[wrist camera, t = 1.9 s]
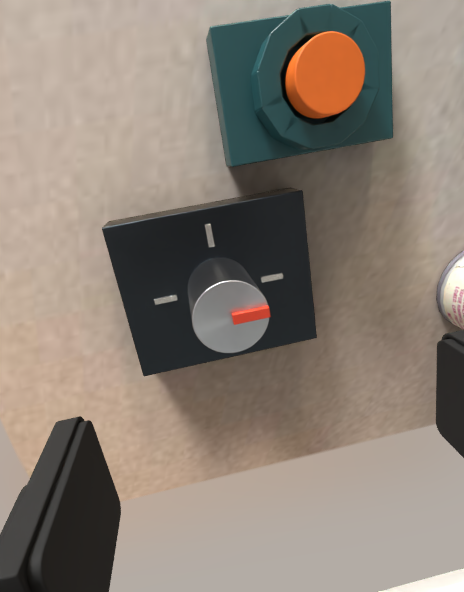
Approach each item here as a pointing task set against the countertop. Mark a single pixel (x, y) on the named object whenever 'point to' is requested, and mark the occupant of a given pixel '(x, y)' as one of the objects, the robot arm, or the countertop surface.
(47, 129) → the countertop surface
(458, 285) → the aerosol can
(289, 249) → the control panel
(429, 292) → the countertop surface
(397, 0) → the countertop surface
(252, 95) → the button block
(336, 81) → the button
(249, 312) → the dial
